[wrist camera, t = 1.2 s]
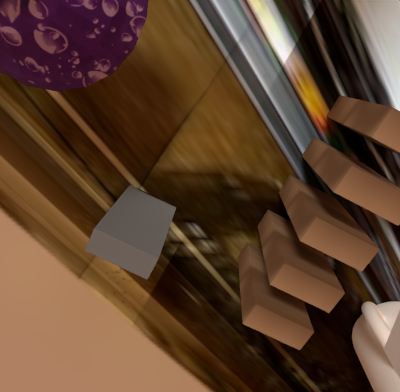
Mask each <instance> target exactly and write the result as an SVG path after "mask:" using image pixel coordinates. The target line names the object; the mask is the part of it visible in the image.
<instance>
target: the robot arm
mask: <svg viewBox="0 0 400 392" xmlns="http://www.w3.org/2000/svg"><path fill="white" fill-rule="evenodd" d="M384 352H385V353H386V355H387V357H388V359H389V361H390V362H391V364H392V366H393V368H394V369H395V371H396V373H397V375H398V376H399V378H400V310H399V313H398V315H397V318H396V320H395V323H394V325H393V328H392V330H391V332H390V335H389V337H388V340H387V342H386V345H385V347H384Z"/></svg>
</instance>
